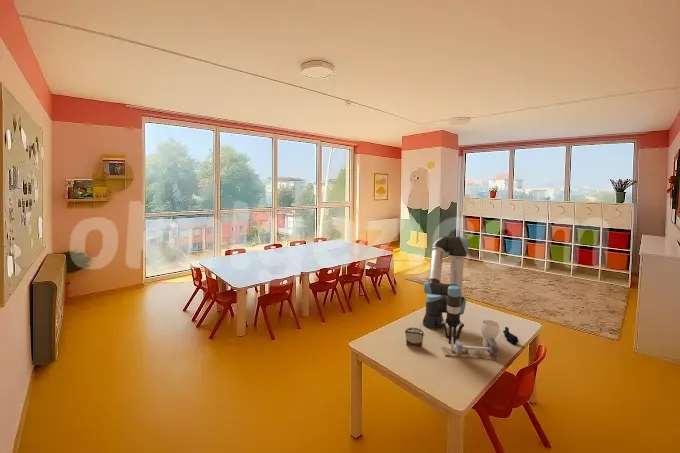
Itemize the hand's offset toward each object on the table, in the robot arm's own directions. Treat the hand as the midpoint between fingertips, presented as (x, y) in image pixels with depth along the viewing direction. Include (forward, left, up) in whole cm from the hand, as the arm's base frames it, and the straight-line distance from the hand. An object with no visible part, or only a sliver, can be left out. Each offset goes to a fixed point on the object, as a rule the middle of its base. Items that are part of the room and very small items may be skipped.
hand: (451, 348), depth 194 cm
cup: (+14, +24, -3) cm, 28 cm away
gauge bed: (+8, +6, -2) cm, 11 cm away
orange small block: (+9, +3, -1) cm, 10 cm away
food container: (-22, -6, -3) cm, 23 cm away
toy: (+22, +41, -3) cm, 47 cm away
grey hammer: (+11, +7, -1) cm, 13 cm away
